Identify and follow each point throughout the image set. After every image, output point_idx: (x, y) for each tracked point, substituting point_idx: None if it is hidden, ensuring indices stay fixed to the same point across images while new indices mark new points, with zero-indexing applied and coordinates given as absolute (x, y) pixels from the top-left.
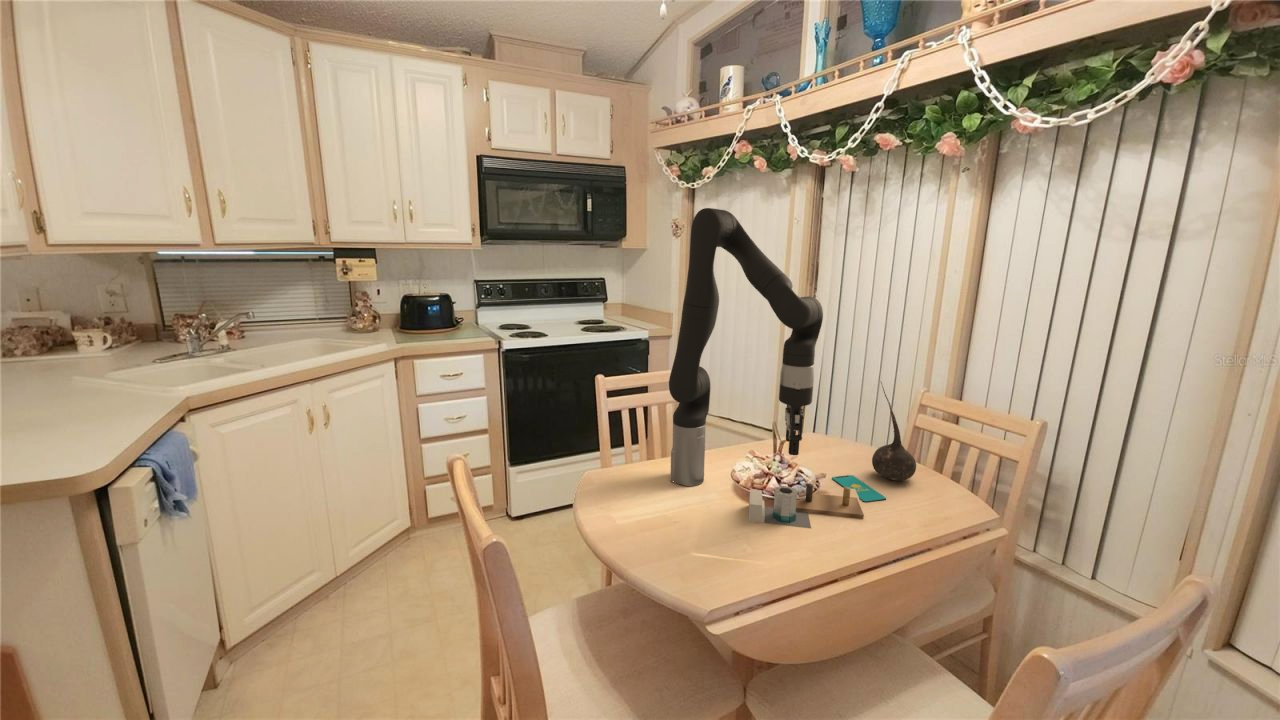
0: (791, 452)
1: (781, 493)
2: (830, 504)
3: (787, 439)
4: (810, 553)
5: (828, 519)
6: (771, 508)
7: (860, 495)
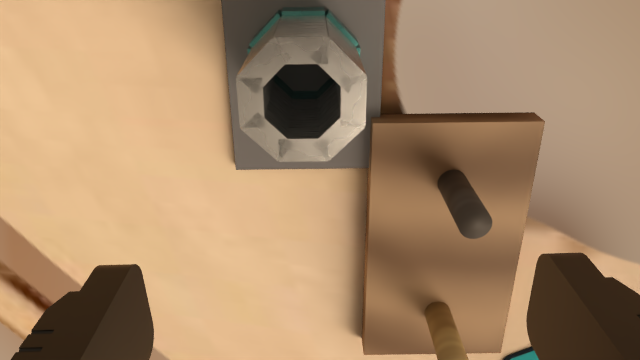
0: (61, 307)
1: (256, 74)
2: (429, 262)
3: (547, 276)
4: (59, 149)
5: (343, 234)
6: (376, 1)
7: None
